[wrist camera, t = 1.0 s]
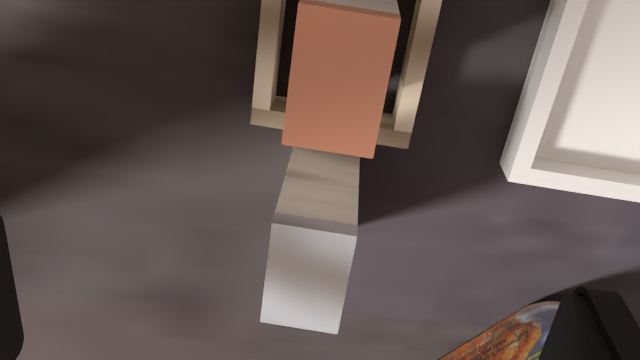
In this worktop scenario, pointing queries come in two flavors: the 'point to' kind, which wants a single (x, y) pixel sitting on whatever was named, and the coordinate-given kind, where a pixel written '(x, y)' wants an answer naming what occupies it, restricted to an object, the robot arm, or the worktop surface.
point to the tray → (581, 103)
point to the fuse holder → (323, 184)
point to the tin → (511, 336)
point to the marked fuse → (340, 74)
